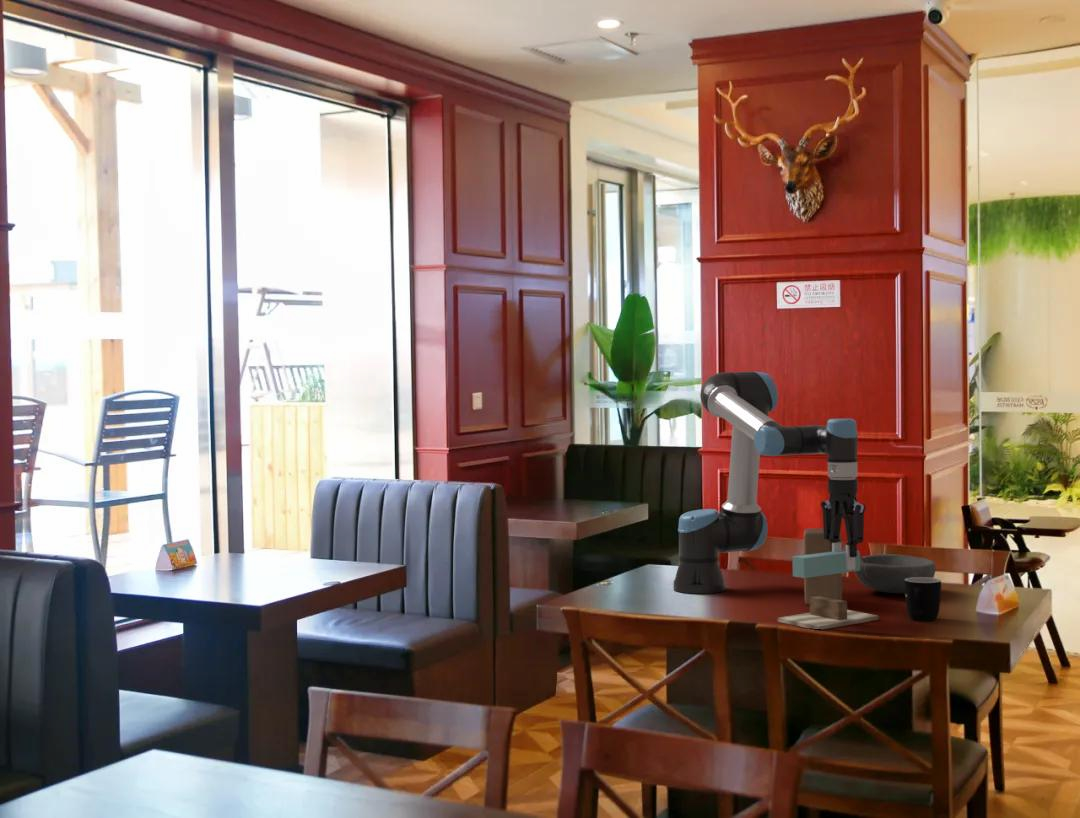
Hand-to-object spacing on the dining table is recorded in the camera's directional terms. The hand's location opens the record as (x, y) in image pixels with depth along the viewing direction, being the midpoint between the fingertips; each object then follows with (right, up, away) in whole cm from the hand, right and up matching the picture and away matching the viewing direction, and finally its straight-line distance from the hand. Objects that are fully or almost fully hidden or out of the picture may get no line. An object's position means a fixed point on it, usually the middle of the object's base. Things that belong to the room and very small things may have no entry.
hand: (843, 568), depth 325 cm
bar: (-5, -1, -3) cm, 6 cm away
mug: (+19, -13, -4) cm, 23 cm away
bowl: (+23, -12, +36) cm, 45 cm away
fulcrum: (-5, -13, -3) cm, 14 cm away
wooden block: (0, -13, +23) cm, 26 cm away
